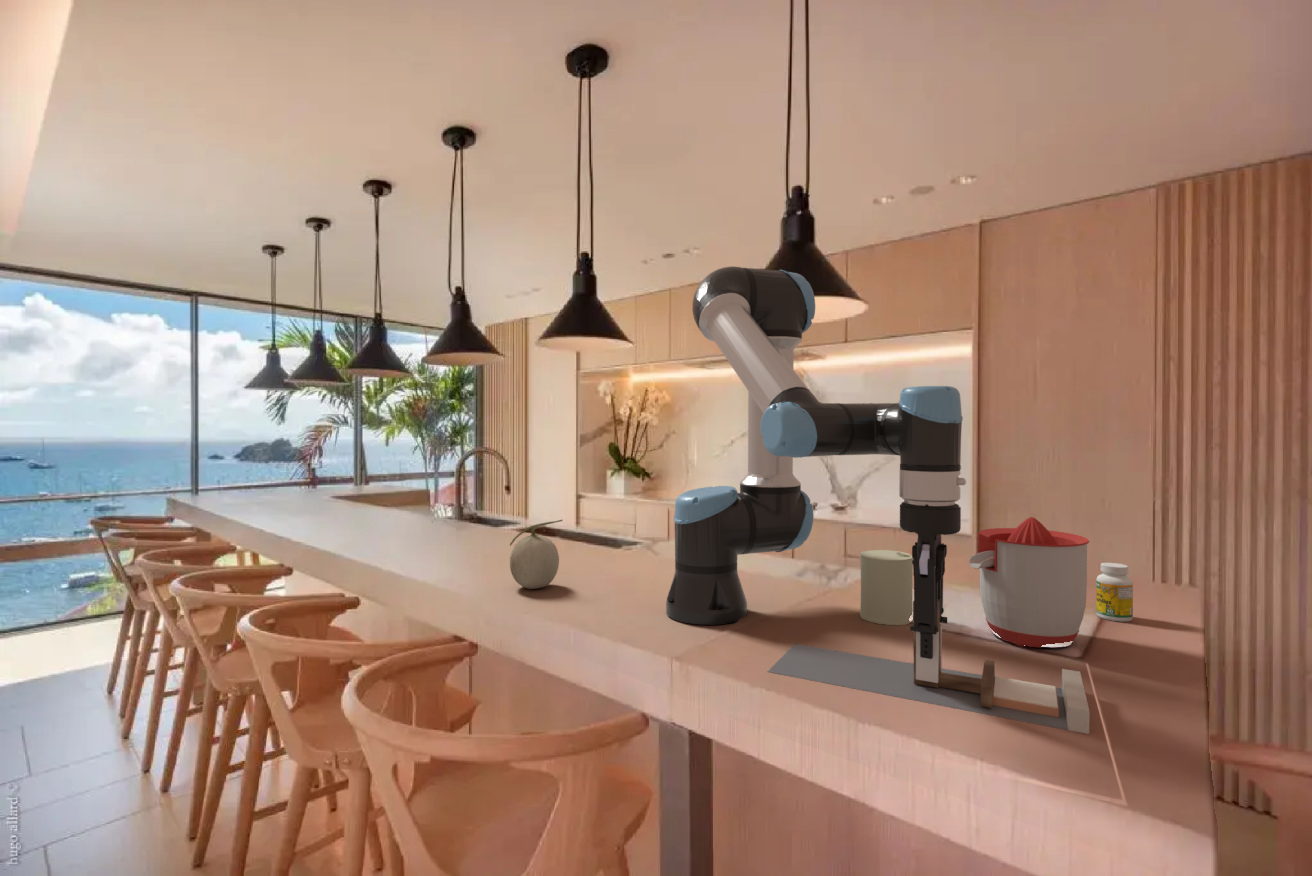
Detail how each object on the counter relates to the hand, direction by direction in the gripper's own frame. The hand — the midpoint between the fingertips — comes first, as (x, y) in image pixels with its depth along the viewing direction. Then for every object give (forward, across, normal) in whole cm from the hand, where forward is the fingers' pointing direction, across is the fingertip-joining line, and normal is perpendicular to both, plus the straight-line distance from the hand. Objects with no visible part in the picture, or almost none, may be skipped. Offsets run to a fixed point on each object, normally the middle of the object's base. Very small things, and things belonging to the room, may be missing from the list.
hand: (928, 674), depth 87 cm
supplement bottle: (+2, +48, -26) cm, 54 cm away
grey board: (+2, 0, +2) cm, 2 cm away
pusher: (+1, 0, -3) cm, 3 cm away
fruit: (+2, +15, +82) cm, 83 cm away
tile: (+1, 0, -11) cm, 11 cm away
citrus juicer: (+2, +28, -12) cm, 30 cm away
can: (+2, +29, +10) cm, 31 cm away
